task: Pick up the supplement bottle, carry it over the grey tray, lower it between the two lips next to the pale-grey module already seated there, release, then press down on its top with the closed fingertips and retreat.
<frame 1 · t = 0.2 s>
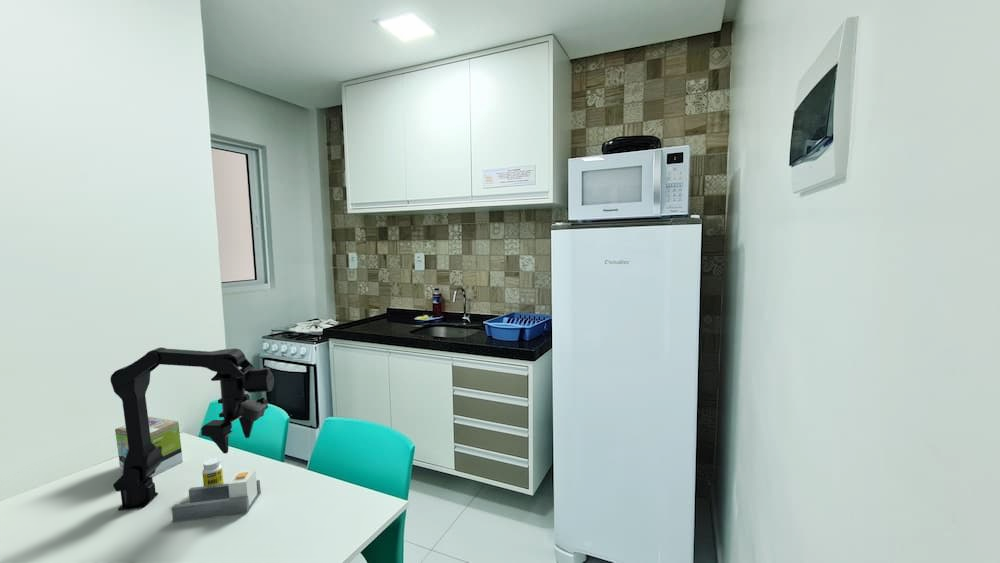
hand: (237, 445, 120), 14 cm above the table, fingers open, 9 cm apart
seated module: (244, 503, 115), resting on grey tray
tea box: (152, 467, 136), on the table
grey tray: (219, 506, 114), on the table
supplement bottle: (214, 489, 122), on the table
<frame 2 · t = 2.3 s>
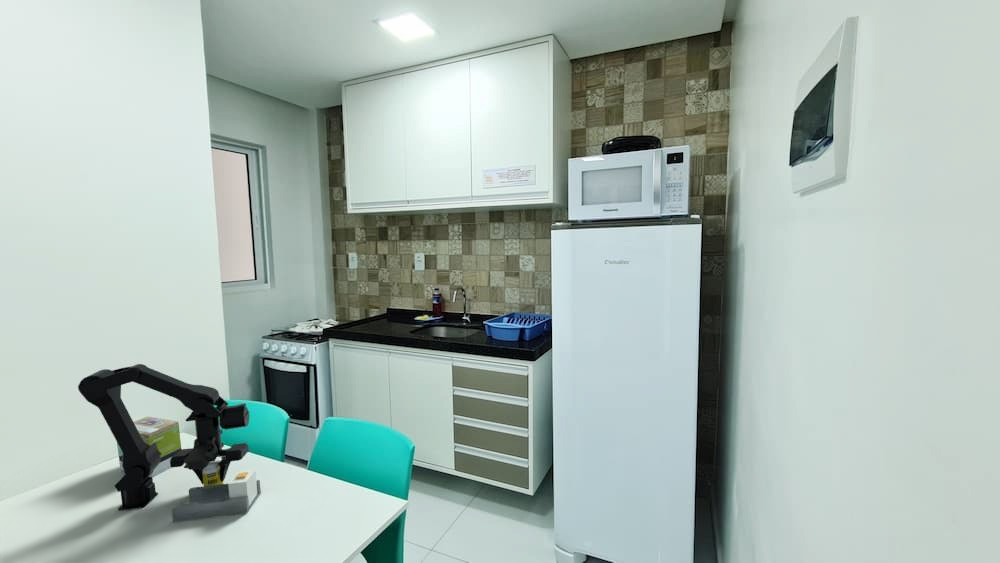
hand: (213, 481, 122), 2 cm above the table, fingers closed on supplement bottle, 5 cm apart
supplement bottle: (214, 489, 122), on the table, touching gripper
everything else where it was.
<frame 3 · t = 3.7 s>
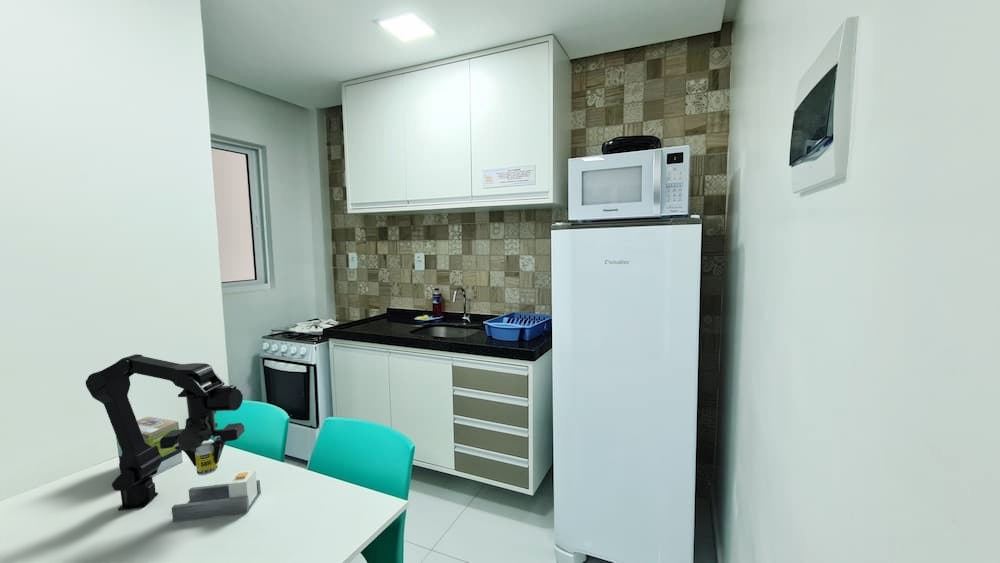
hand: (206, 464, 115), 11 cm above the table, fingers closed on supplement bottle, 5 cm apart
supplement bottle: (207, 471, 115), point 9 cm above the table, touching gripper
everything else where it was.
when the fingers open (4 cm above the table, at t = 5.5 s): supplement bottle drops 1 cm, resting on grey tray.
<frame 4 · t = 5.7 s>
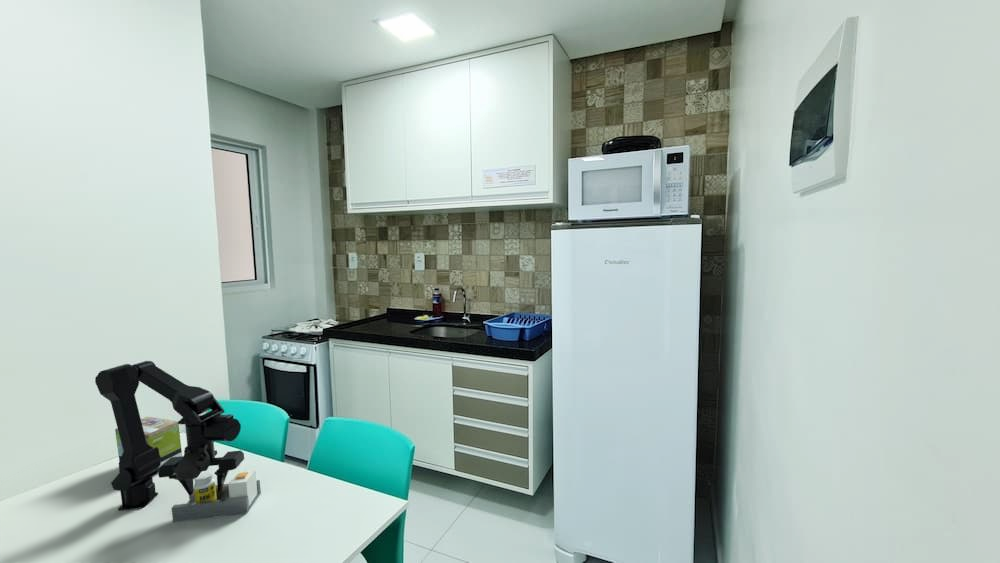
hand: (205, 492, 113), 4 cm above the table, fingers open, 7 cm apart
supplement bottle: (206, 505, 113), point 1 cm above the table, touching grey tray
everything else where it was.
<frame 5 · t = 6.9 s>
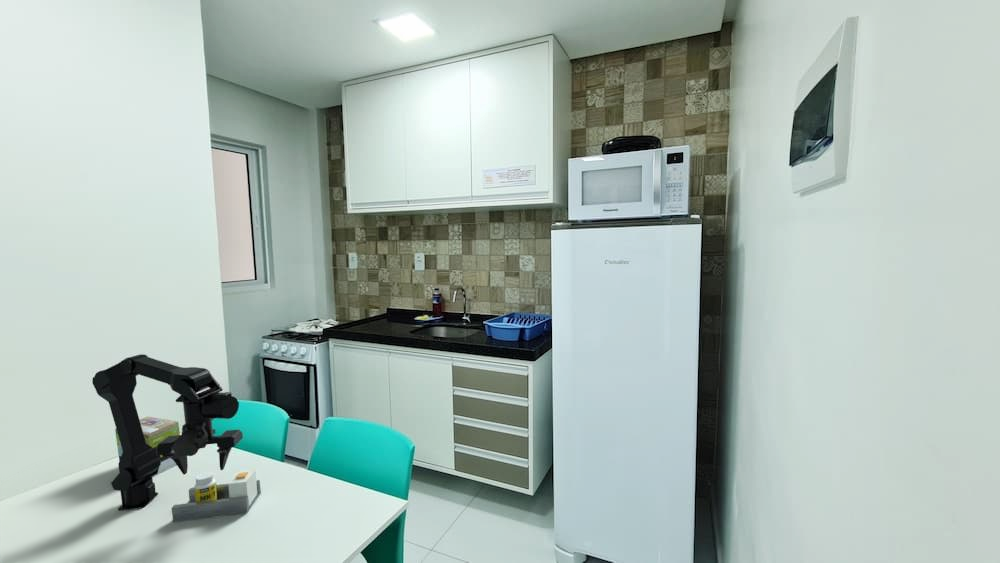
hand: (203, 471, 112), 11 cm above the table, fingers open, 9 cm apart
nothing on the table moved.
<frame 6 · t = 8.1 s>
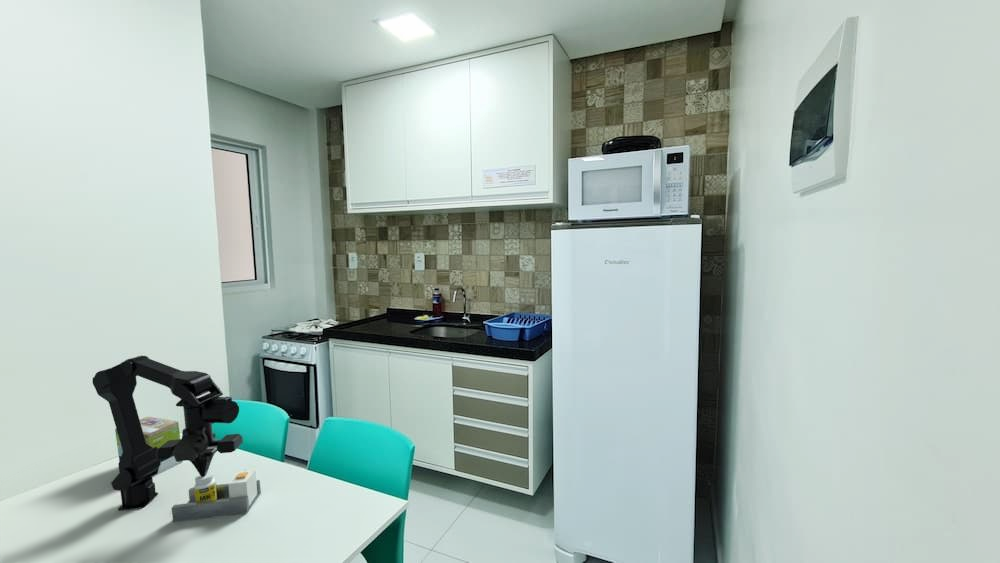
hand: (203, 475, 112), 9 cm above the table, fingers closed, pressing on supplement bottle
supplement bottle: (206, 505, 113), point 1 cm above the table, touching gripper, grey tray
everything else where it was.
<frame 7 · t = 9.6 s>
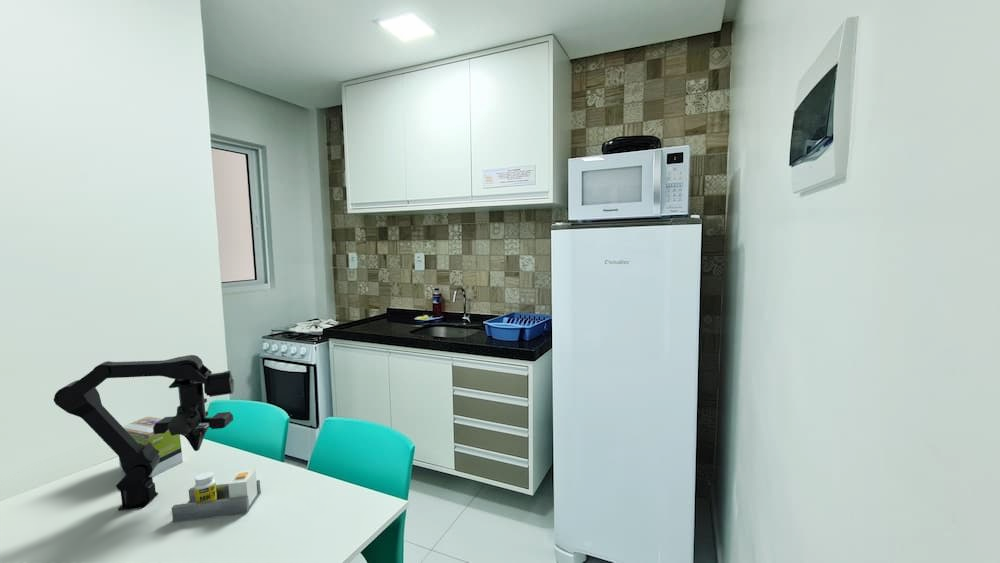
hand: (197, 450, 121), 12 cm above the table, fingers closed
supplement bottle: (206, 505, 113), point 1 cm above the table, touching grey tray
everything else where it was.
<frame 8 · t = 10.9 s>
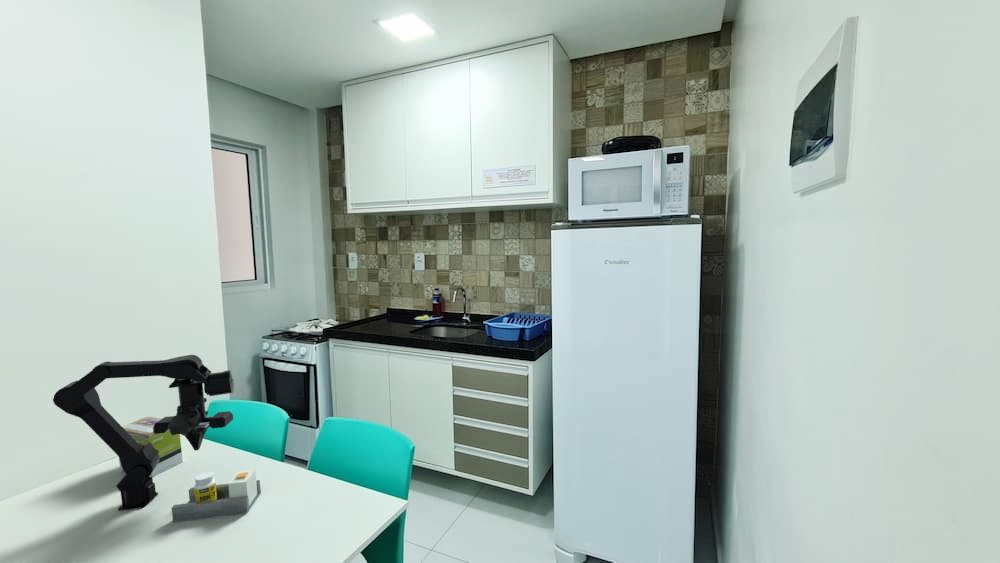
hand: (197, 449, 122), 12 cm above the table, fingers closed
nothing on the table moved.
at the end: supplement bottle inside the target area on the grey tray (0.5 cm from its centre), point 0.8 cm above the grey tray's base; supplement bottle tilted 0°; the gripper is holding nothing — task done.
